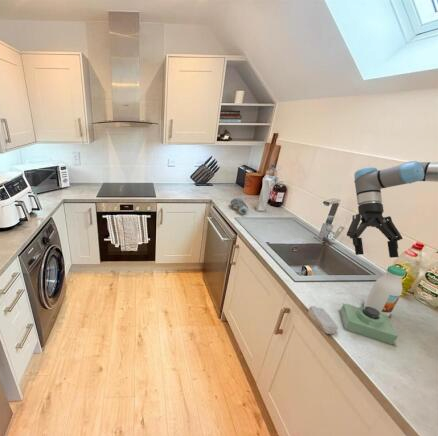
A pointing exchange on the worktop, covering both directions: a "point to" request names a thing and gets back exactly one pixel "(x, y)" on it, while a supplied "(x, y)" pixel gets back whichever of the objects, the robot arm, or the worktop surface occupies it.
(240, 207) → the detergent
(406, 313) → the worktop surface
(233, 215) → the worktop surface
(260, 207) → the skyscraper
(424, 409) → the worktop surface
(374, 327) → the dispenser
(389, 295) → the milk bottle
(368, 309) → the black disc
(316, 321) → the soap bar
